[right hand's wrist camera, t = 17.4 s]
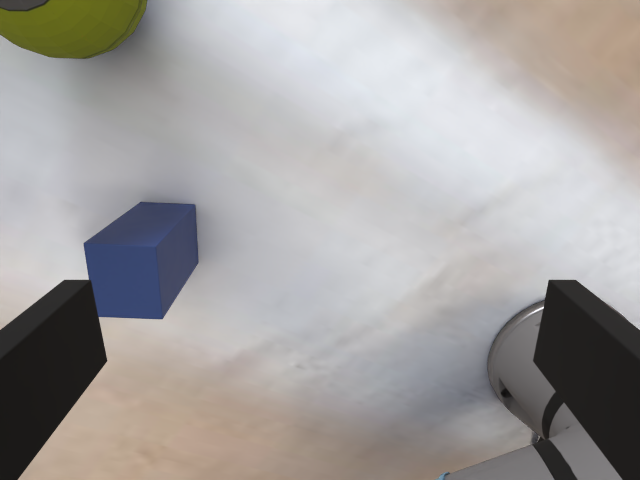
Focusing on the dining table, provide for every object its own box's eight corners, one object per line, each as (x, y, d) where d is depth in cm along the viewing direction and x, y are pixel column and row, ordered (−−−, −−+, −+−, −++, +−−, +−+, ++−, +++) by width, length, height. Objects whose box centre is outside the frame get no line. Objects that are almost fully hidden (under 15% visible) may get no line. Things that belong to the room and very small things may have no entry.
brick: (195, 204, 41) (155, 246, 31) (198, 262, 43) (162, 319, 33) (140, 201, 41) (82, 243, 31) (146, 260, 43) (94, 317, 33)
